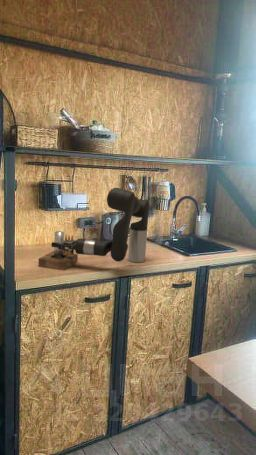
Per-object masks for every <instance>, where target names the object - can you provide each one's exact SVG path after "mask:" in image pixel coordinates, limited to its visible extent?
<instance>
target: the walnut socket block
mask: <svg viewBox="0 0 256 455" xmlns="http://www.w3.org/2000/svg"><path fill="white" fill-rule="evenodd" d="M78 257H79V254H77V253H74V254H71V253H64V255H63V259H60V258H54V250H52V251H51V252H48V253H45V255H43V256H41V257H39V258H38V267H39V268H45V269H52V270H53V269H54V270H62V271H67V270H68V269H69V268H71V267H72V266H74V265H75V264H77V263H78Z"/></svg>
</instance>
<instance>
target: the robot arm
mask: <svg viewBox="0 0 256 455" xmlns="http://www.w3.org/2000/svg"><path fill="white" fill-rule="evenodd" d="M106 203H107V206H108V207H109V208H110V209H112V210H116V211H119V212H122V213H124V214H123V216H122V217H121V218H120V219H119V220H118V221H117V222H116V223H115V224H114V226H113V228H112V240H107V241H101V240H100V241H99V240H94V239H89V238H88V239H86V238H77V239H76V240H74V239H73V240H71V239H70V240H68V239H67V240H66V241H65V240H64V243H55V242H54V241H53V242H51V245H50V246H51V248H54V247H57V248H58V249H60V250H65V251H69V250H74V252H75V254H78V255H85V256H98V257H105V256H107V254H108V253H110V256H111V259H112V260H113V261H114V262H117V263H118V262H119V263H120V262H122V261H123V260H125V258H126V255H127V256H128V257H127V259H128V261H129V262H131V263H144V262H145V261H146V253H147V241H148V240H147V238H148V236H147V235H148V225H149V224H148V223H149V213H150V202H149V200H147V199H139V198H138V197H137V196H136V194H135V192H134V191H131V190H127V189H125V188H120V187H113V188H112V189H111V188H110V190H109V191H108V193H107V196H106ZM132 217H137V218H138V217H139V218H141V219H139V220H138V221H135V222H132V223H131V220H132ZM128 237H129V238H128ZM128 239H129V240H128ZM127 242H128V243H127ZM61 246H62V247H61ZM127 252H128V254H127Z"/></svg>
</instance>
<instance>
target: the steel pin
mask: <svg viewBox="0 0 256 455" xmlns="http://www.w3.org/2000/svg"><path fill="white" fill-rule="evenodd" d="M64 241H65V231H62V230H60V231H59V230H56V231H54V241H53V242H55V243H64ZM61 247H62V246H61ZM53 251H54V258H60V259H63V255H64V250H60V249H58V248H57V247H53Z"/></svg>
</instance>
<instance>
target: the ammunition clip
mask: <svg viewBox="0 0 256 455" xmlns="http://www.w3.org/2000/svg"><path fill="white" fill-rule="evenodd" d="M66 240H74V235H73V234H71V235H70V234H69V235H68V236H67V235H64V241H66ZM64 253H71V254H75V250H69V251H65V250H64Z"/></svg>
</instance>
